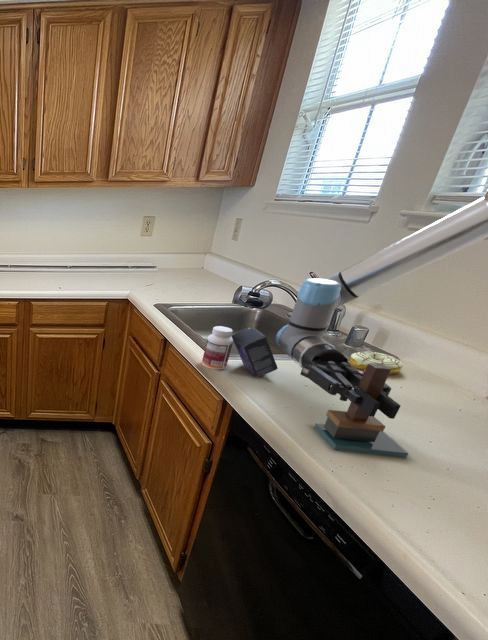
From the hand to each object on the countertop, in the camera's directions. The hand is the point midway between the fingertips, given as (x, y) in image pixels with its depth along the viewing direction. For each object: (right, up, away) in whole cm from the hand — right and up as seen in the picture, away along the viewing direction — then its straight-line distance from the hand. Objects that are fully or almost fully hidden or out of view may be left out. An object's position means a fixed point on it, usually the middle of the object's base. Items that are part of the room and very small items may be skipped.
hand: (384, 410), depth 74 cm
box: (+3, +8, +38) cm, 39 cm away
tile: (+3, -7, +9) cm, 12 cm away
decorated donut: (+36, +8, +42) cm, 56 cm away
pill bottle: (-8, +9, +42) cm, 44 cm away
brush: (+1, -5, +9) cm, 10 cm away
